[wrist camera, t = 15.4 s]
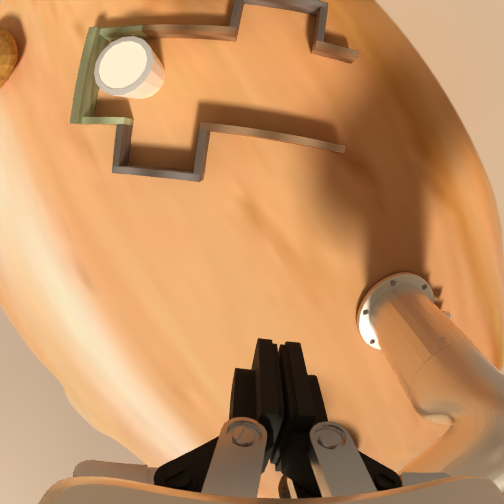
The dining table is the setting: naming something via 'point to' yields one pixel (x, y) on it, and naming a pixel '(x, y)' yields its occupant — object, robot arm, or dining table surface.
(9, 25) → the dining table surface
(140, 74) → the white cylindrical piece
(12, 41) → the potato
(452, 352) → the robot arm
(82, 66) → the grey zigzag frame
